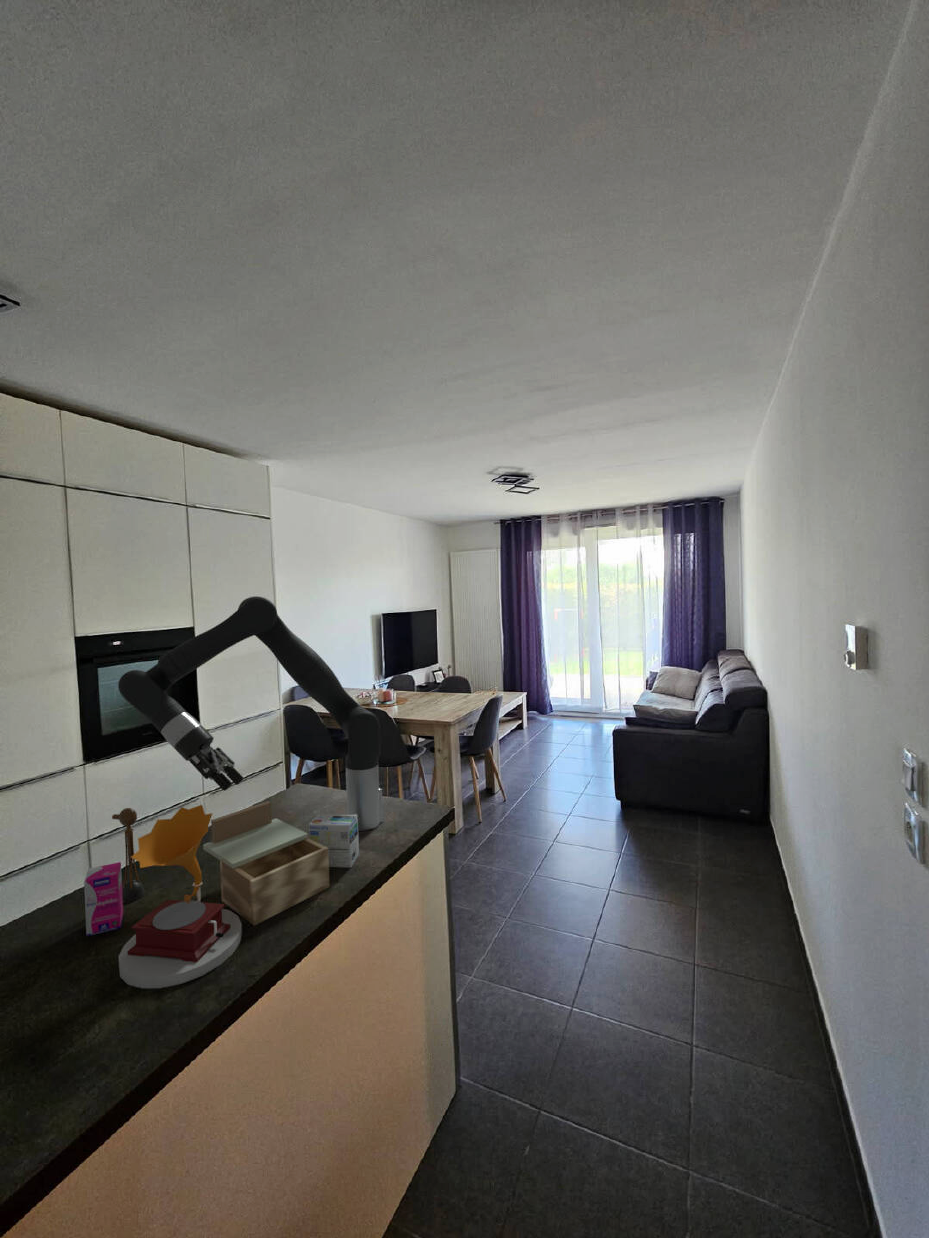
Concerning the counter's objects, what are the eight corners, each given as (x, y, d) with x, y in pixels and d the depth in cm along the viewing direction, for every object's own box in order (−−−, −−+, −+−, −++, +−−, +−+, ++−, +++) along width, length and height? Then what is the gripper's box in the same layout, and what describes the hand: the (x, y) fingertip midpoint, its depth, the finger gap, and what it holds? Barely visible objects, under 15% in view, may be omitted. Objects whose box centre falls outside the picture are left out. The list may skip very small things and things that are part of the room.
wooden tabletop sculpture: (110, 901, 117) (105, 811, 116) (126, 889, 122) (122, 803, 121) (133, 903, 116) (129, 812, 115) (149, 891, 121) (145, 804, 120)
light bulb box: (359, 854, 136) (358, 813, 135) (351, 868, 129) (350, 824, 129) (319, 853, 137) (317, 812, 136) (308, 867, 130) (307, 823, 130)
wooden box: (295, 867, 130) (293, 831, 130) (329, 886, 121) (328, 847, 121) (221, 900, 117) (219, 860, 116) (254, 925, 108) (252, 881, 107)
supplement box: (85, 938, 105) (82, 881, 104) (90, 922, 110) (87, 867, 109) (121, 929, 107) (117, 873, 107) (124, 913, 113) (121, 860, 112)
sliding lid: (276, 822, 135) (275, 798, 135) (307, 837, 126) (306, 812, 126) (203, 849, 121) (202, 823, 121) (233, 868, 112) (231, 840, 112)
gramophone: (173, 912, 113) (167, 796, 112) (262, 920, 109) (257, 800, 108) (89, 982, 93) (81, 841, 91) (196, 995, 89) (189, 848, 88)
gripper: (187, 725, 121) (237, 777, 120) (210, 722, 135) (255, 768, 134) (160, 750, 119) (211, 802, 119) (187, 744, 133) (232, 791, 133)
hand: (234, 784), depth 127 cm, fingers open, 8 cm apart
